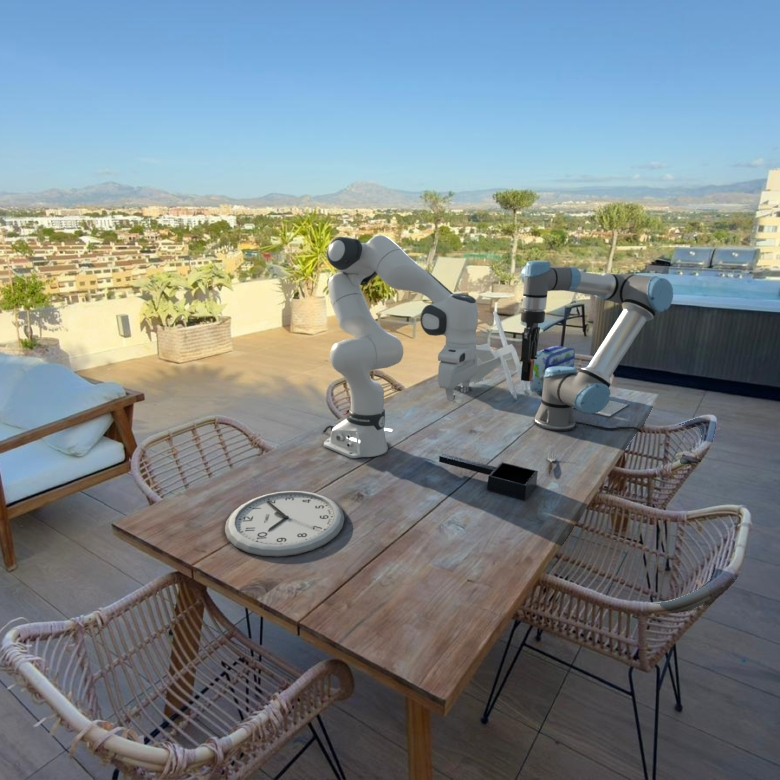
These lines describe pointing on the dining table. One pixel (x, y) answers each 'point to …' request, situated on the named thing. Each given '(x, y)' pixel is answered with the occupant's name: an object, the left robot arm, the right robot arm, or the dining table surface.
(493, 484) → the pan
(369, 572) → the dining table surface
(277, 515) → the wall clock
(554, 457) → the fork
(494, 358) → the white plastic object
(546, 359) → the lunch box
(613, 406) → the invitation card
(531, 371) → the peg
